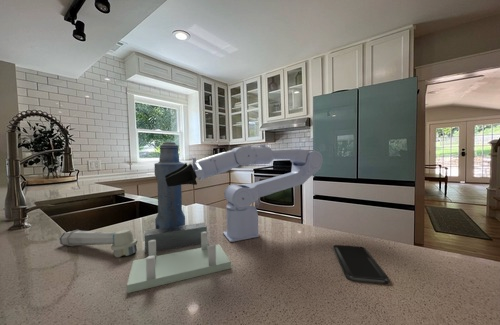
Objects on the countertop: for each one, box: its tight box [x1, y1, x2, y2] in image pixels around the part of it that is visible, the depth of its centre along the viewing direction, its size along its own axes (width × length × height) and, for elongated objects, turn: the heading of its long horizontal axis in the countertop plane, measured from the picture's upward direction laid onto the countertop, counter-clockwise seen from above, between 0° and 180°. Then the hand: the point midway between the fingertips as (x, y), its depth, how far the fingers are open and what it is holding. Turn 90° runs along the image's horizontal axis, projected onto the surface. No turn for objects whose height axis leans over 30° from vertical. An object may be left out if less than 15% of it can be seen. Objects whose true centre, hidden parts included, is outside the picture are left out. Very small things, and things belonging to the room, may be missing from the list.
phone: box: [333, 244, 390, 285], centre depth 48 cm, size 8×1×15 cm
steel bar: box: [144, 222, 208, 255], centre depth 59 cm, size 16×4×5 cm, turn 113°
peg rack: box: [126, 231, 232, 294], centre depth 47 cm, size 20×10×6 cm, turn 113°
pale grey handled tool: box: [59, 229, 138, 258], centre depth 57 cm, size 5×7×25 cm
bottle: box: [153, 141, 186, 229], centre depth 72 cm, size 10×10×30 cm
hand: (166, 180), depth 56 cm, fingers open, 7 cm apart
